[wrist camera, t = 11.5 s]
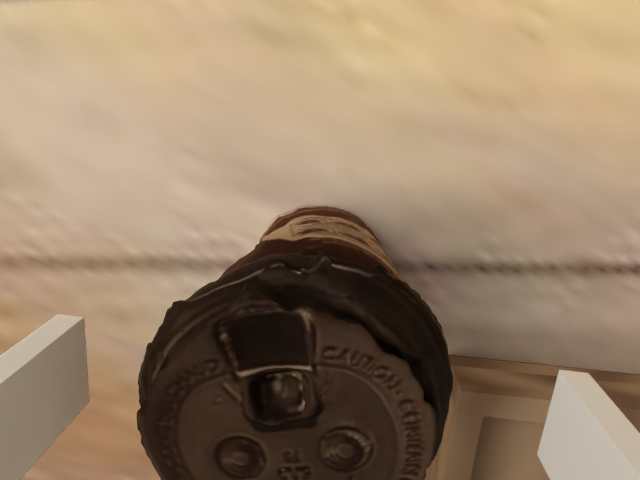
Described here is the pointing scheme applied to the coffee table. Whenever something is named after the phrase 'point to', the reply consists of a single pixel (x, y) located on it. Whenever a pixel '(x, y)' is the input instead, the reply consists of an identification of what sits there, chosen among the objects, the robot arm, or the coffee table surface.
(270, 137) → the coffee table surface
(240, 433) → the coffee cup
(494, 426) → the box
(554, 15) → the coffee table surface
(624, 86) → the coffee table surface
